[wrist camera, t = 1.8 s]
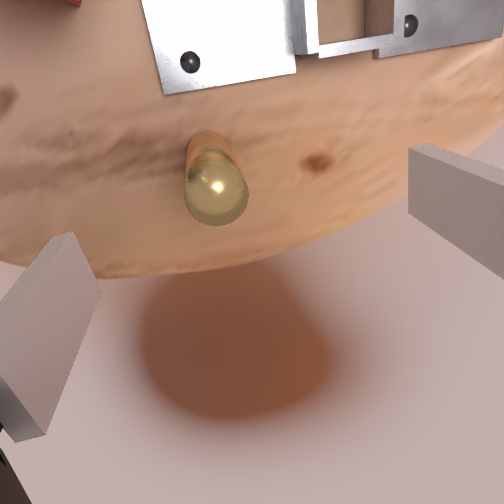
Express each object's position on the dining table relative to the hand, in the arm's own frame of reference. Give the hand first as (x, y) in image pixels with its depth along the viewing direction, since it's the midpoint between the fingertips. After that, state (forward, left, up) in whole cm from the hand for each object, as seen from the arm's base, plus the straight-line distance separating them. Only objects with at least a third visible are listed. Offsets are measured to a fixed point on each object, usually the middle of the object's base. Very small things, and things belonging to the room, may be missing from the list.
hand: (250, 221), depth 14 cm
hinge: (+11, +8, -21) cm, 25 cm away
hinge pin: (-1, -2, -21) cm, 21 cm away
